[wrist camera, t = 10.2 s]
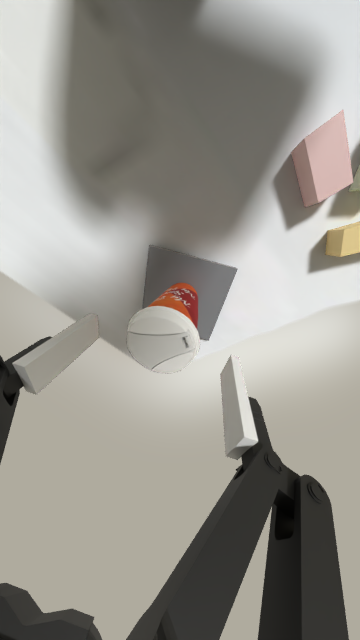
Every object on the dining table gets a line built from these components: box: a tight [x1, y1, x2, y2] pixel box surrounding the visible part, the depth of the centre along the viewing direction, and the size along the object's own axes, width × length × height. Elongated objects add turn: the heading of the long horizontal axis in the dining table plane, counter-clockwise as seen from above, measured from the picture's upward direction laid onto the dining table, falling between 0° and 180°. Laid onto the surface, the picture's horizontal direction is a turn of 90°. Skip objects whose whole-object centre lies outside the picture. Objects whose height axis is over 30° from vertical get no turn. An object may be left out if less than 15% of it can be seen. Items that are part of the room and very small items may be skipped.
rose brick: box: [291, 110, 354, 207], centre depth 16 cm, size 6×3×3 cm, turn 32°
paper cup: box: [127, 283, 200, 373], centre depth 21 cm, size 8×8×14 cm
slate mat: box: [142, 245, 237, 340], centre depth 27 cm, size 14×14×1 cm
